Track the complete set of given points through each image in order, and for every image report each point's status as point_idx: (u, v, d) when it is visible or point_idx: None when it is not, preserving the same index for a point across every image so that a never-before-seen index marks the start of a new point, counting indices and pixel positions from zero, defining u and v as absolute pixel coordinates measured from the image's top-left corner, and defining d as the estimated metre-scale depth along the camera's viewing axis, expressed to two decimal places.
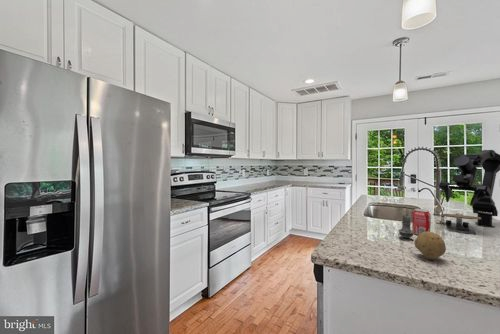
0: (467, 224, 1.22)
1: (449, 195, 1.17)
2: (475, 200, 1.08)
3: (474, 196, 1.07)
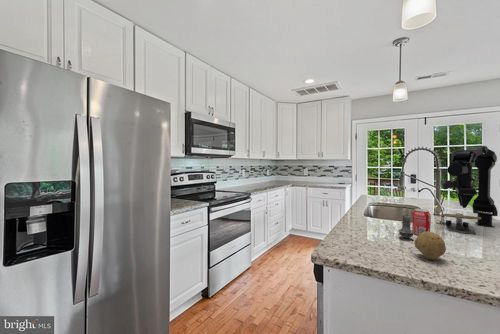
0: (467, 224, 1.22)
1: None
2: (465, 202, 1.09)
3: (461, 199, 1.10)
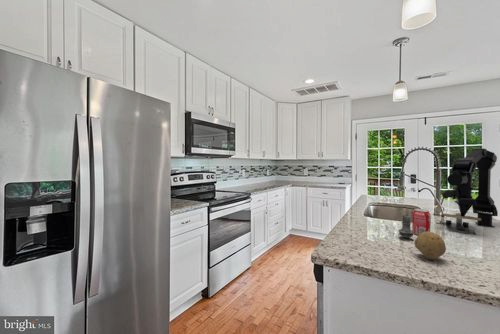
0: (467, 224, 1.22)
1: None
2: (464, 211, 1.12)
3: (459, 208, 1.13)
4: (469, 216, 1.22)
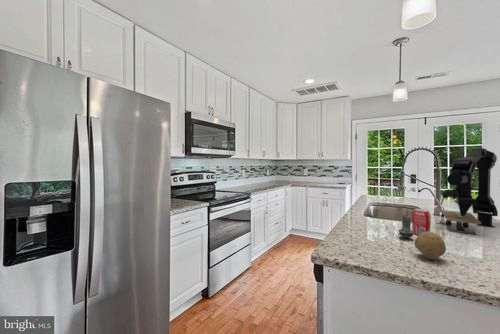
0: (467, 224, 1.22)
1: None
2: (463, 210, 1.12)
3: (459, 207, 1.13)
4: (469, 214, 1.21)
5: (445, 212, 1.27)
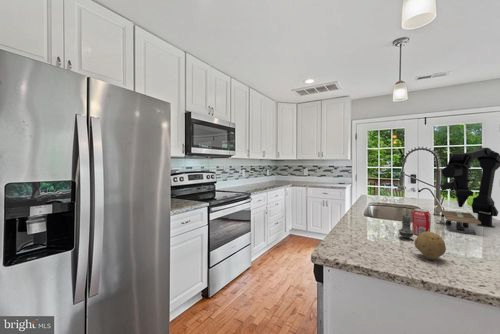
0: (467, 224, 1.22)
1: None
2: (461, 202, 1.18)
3: (457, 199, 1.19)
4: (469, 214, 1.21)
5: (445, 212, 1.27)
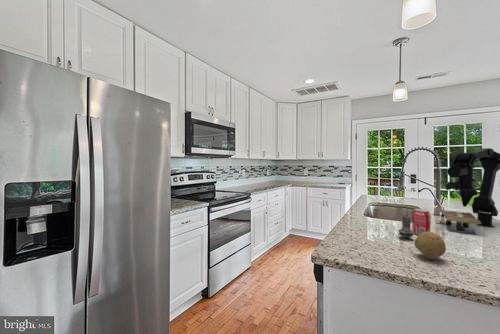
0: (467, 224, 1.22)
1: None
2: (465, 201, 1.18)
3: (461, 198, 1.19)
4: (469, 214, 1.21)
5: (445, 212, 1.27)
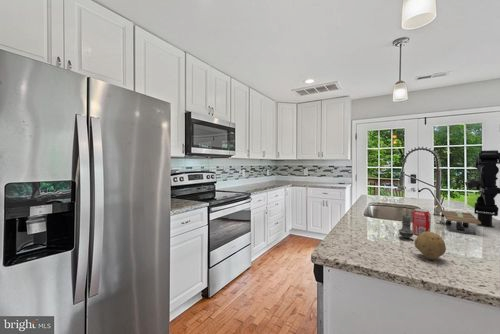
0: (467, 224, 1.22)
1: None
2: (488, 200, 1.15)
3: (484, 197, 1.16)
4: (469, 214, 1.21)
5: (445, 212, 1.27)
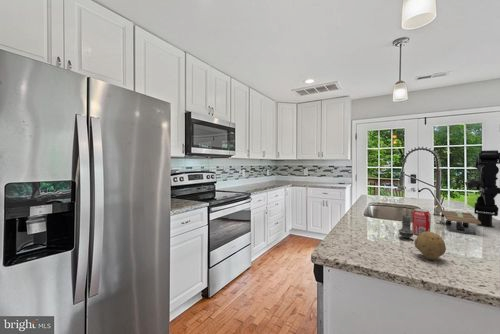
0: (467, 224, 1.22)
1: None
2: (488, 200, 1.15)
3: (484, 197, 1.16)
4: (469, 214, 1.21)
5: (445, 212, 1.27)
